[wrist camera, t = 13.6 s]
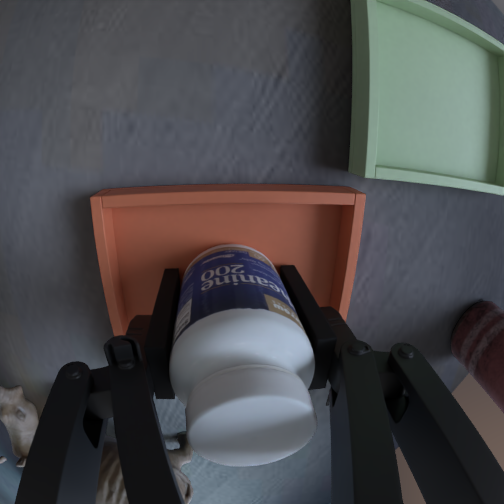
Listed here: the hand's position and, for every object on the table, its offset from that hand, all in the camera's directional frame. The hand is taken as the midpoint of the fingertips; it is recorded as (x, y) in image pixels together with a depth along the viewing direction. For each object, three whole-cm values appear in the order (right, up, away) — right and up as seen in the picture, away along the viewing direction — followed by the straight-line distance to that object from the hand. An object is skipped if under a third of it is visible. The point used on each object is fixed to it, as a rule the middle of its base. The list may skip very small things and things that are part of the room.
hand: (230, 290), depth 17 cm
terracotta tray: (0, 0, +1) cm, 1 cm away
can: (+21, -5, +6) cm, 23 cm away
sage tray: (+13, +12, -2) cm, 18 cm away
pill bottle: (0, 0, 0) cm, 1 cm away
